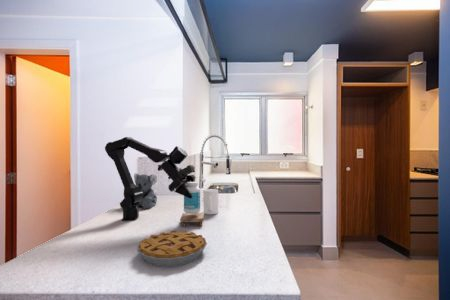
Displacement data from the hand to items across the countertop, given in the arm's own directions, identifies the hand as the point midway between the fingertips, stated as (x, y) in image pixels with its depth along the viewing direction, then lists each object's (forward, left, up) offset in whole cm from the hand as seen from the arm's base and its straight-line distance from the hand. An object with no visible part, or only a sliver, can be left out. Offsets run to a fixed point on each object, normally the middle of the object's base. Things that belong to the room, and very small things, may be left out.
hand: (194, 196), depth 118 cm
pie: (-5, -33, -13) cm, 35 cm away
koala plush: (-33, +39, -13) cm, 53 cm away
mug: (+7, +17, -13) cm, 23 cm away
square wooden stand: (-1, 0, -12) cm, 13 cm away
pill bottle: (-1, 0, -7) cm, 8 cm away
